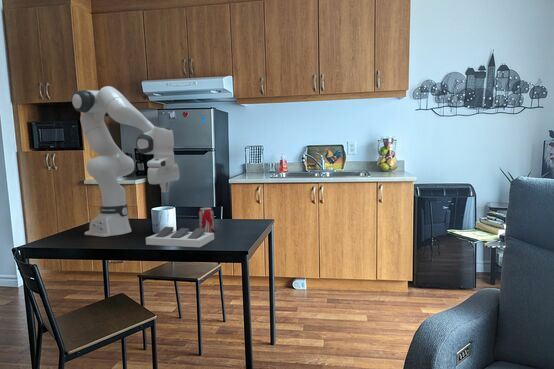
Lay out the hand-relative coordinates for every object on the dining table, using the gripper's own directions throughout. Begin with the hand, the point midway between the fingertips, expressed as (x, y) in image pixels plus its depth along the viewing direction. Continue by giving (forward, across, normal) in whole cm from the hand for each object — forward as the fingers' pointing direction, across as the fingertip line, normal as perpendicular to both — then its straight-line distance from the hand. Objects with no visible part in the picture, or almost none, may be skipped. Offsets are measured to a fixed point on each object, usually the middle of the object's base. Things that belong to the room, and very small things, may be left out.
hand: (165, 192), depth 172 cm
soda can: (+22, -16, +13) cm, 30 cm away
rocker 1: (+19, +4, +2) cm, 19 cm away
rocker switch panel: (+22, +4, +10) cm, 24 cm away
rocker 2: (+18, +4, +18) cm, 26 cm away
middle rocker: (+18, +4, +10) cm, 21 cm away
